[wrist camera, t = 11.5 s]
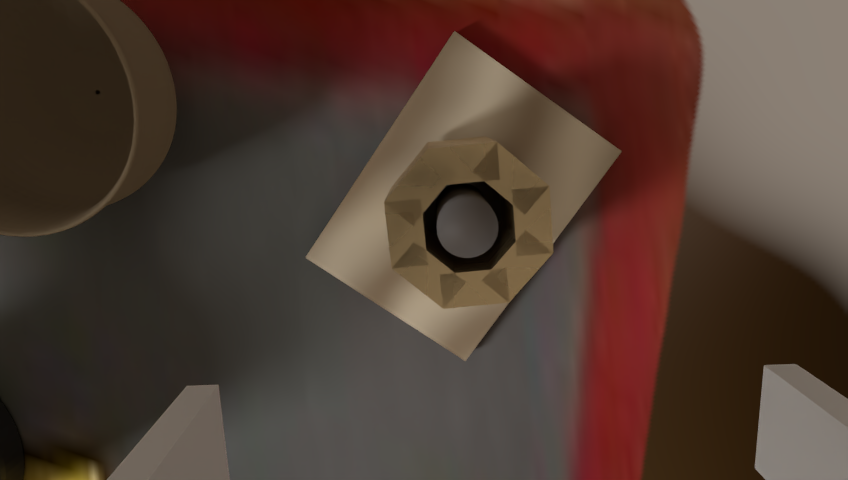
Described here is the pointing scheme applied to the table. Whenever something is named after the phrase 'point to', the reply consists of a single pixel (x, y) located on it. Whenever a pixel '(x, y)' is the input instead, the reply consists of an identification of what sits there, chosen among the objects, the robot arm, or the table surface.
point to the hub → (459, 185)
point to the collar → (517, 231)
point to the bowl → (77, 111)
